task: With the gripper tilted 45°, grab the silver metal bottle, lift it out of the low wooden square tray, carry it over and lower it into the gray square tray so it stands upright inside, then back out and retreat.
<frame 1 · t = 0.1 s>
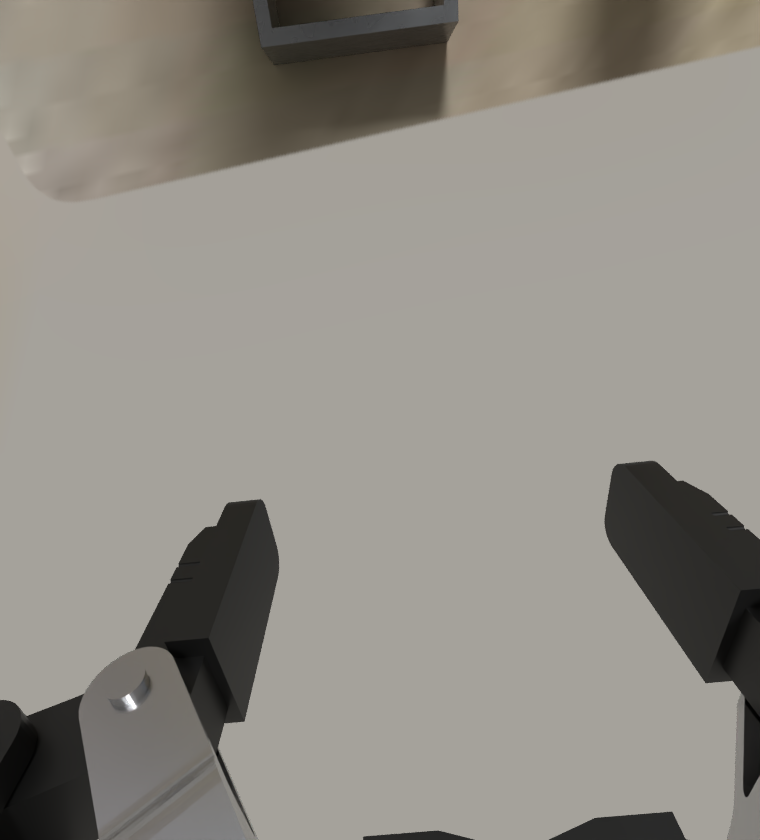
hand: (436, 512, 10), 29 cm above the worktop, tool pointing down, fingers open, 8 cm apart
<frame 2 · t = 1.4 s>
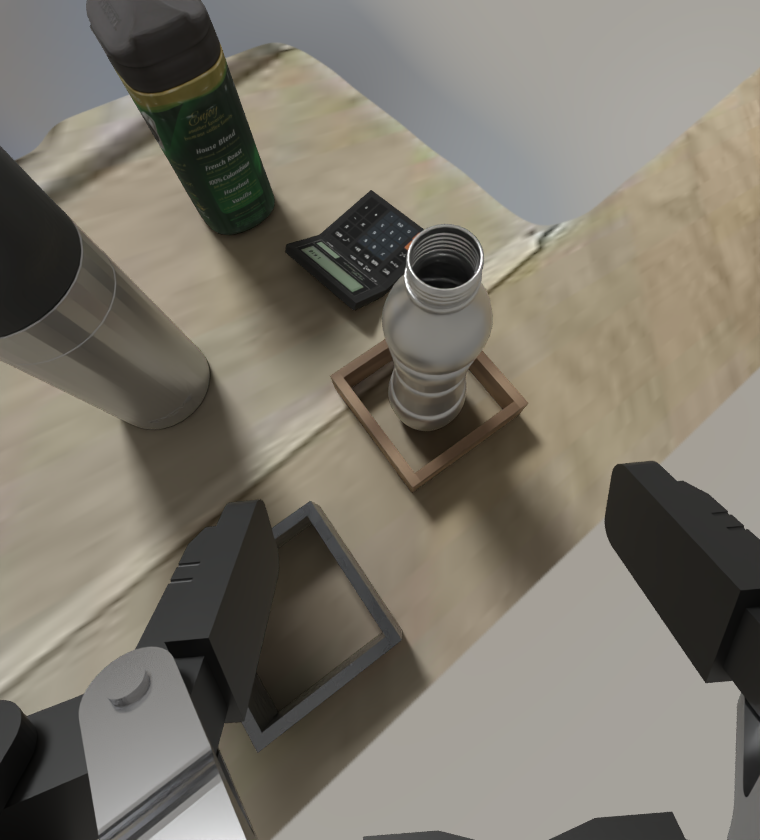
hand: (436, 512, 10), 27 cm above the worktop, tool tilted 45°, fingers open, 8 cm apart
silver metal bottle: (425, 402, 40), resting in wooden square tray
gray square tray: (298, 610, 35), on the worktop
calculator: (364, 257, 45), on the worktop
wooden square tray: (425, 401, 40), on the worktop
coffee jar: (235, 201, 47), on the worktop
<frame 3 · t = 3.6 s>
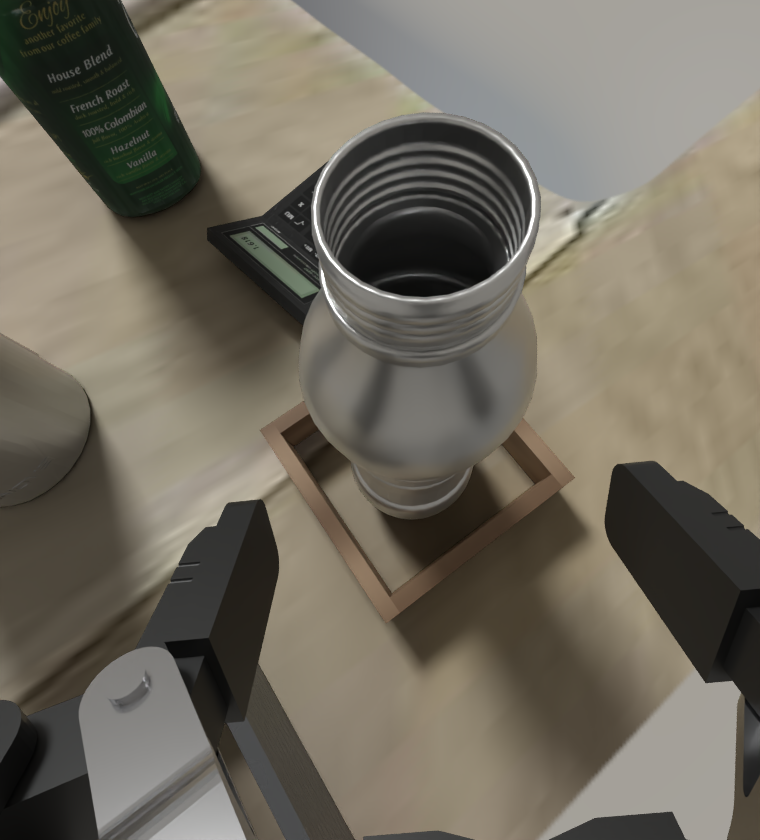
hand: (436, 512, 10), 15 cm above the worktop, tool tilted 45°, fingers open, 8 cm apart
silver metal bottle: (411, 465, 26), resting in wooden square tray
gray square tray: (199, 822, 21), on the worktop
calculator: (326, 249, 31), on the worktop
wooden square tray: (411, 464, 26), on the worktop
coffee jar: (150, 172, 34), on the worktop
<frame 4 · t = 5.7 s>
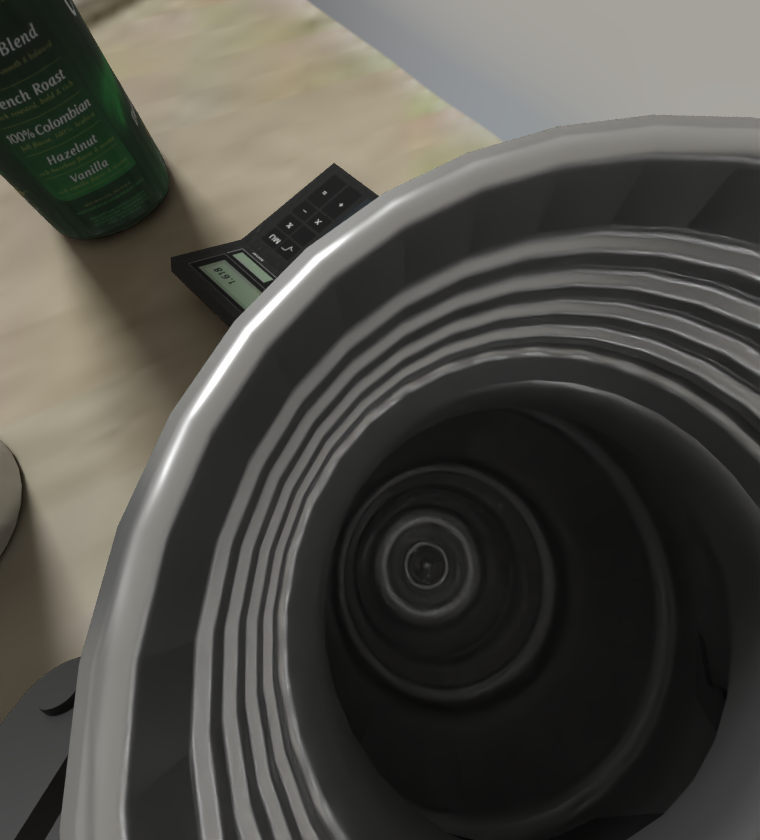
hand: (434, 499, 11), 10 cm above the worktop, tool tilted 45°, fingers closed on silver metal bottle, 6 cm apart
silver metal bottle: (425, 566, 20), resting in wooden square tray, touching gripper
calculator: (320, 280, 26), on the worktop
coffee jar: (109, 184, 28), on the worktop
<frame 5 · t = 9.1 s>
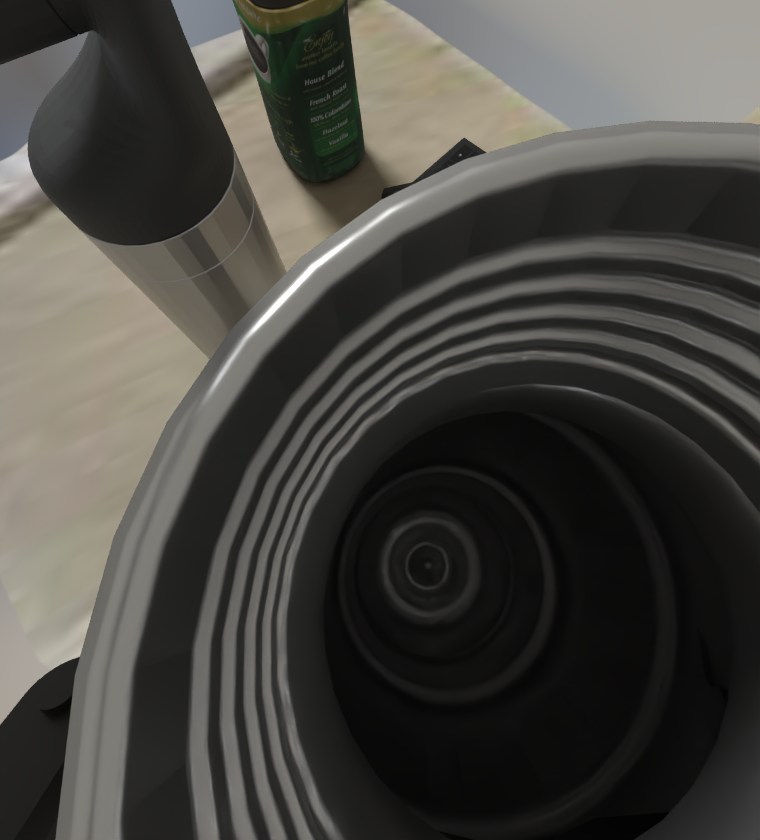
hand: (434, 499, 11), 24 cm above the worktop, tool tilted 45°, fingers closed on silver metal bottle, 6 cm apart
silver metal bottle: (426, 566, 20), point 14 cm above the worktop, touching gripper
calculator: (458, 206, 43), on the worktop
coffee jar: (321, 150, 46), on the worktop
when the fingers open (12 cm above the worktop, at t = 12.7 s): silver metal bottle drops 1 cm, resting in gray square tray.
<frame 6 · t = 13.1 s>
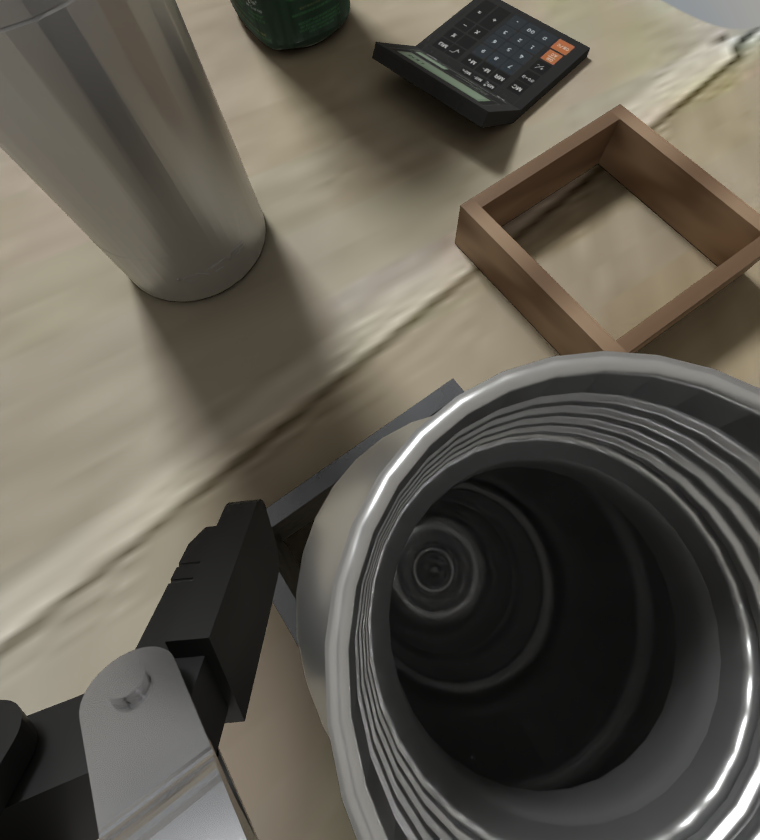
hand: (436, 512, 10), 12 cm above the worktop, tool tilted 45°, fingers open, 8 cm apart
silver metal bottle: (433, 570, 22), resting in gray square tray
gray square tray: (424, 565, 22), on the worktop
calculator: (479, 79, 32), on the worktop
wooden square tray: (594, 257, 26), on the worktop
coffee jar: (292, 15, 34), on the worktop
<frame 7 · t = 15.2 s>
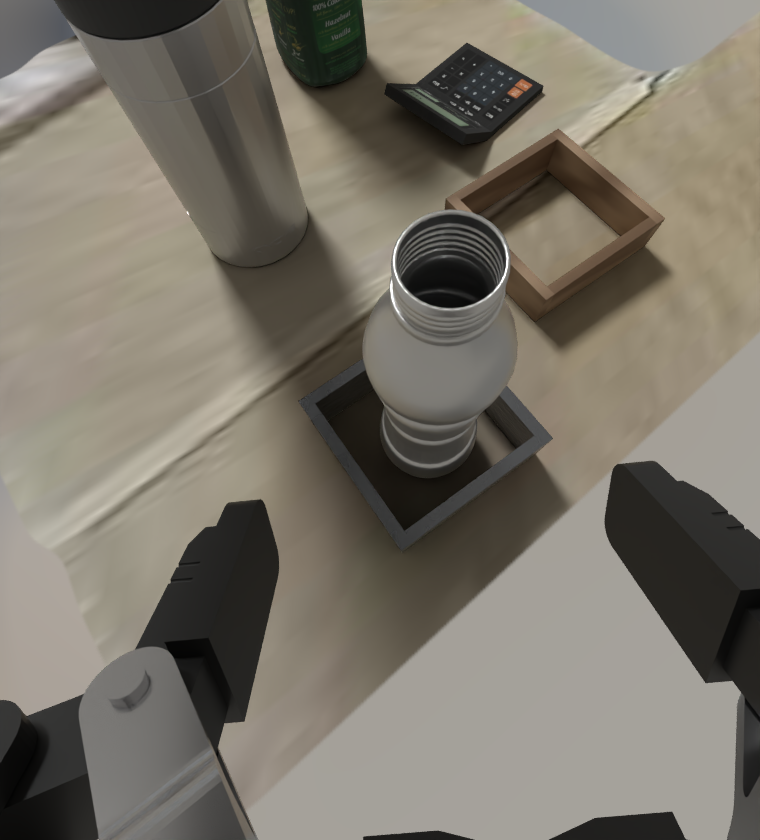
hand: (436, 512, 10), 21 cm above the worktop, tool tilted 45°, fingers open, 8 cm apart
silver metal bottle: (426, 439, 32), resting in gray square tray
gray square tray: (420, 436, 32), on the worktop
calculator: (462, 108, 43), on the worktop
wooden square tray: (541, 235, 37), on the worktop
coffee jar: (323, 59, 46), on the worktop
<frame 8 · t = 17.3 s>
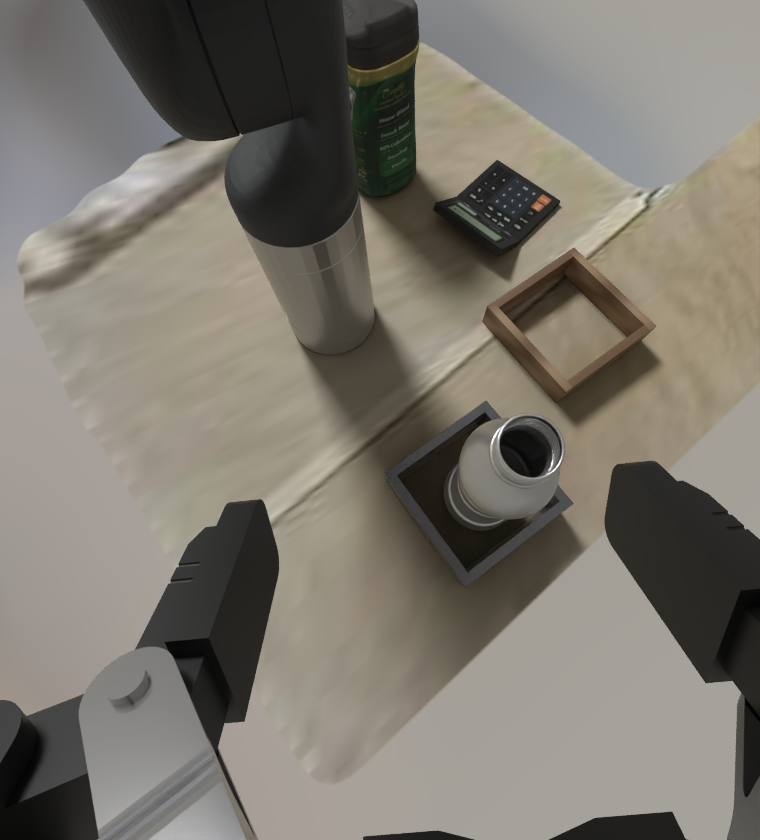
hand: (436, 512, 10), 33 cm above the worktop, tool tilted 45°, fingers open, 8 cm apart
silver metal bottle: (475, 496, 43), resting in gray square tray
gray square tray: (470, 494, 43), on the worktop
calculator: (494, 216, 53), on the worktop
wooden square tray: (560, 330, 47), on the worktop
coffee jar: (378, 170, 55), on the worktop
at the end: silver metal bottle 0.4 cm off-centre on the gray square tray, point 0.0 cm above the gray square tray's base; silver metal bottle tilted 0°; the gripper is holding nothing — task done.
